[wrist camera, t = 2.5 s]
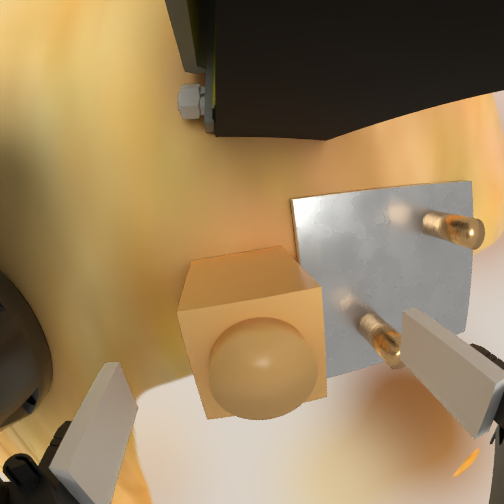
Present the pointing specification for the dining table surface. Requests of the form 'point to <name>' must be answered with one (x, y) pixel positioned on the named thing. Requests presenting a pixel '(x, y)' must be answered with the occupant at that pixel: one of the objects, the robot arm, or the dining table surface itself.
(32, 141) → the dining table surface
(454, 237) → the brass rounded peg
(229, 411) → the cube with dome knob
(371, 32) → the electrical component
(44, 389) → the robot arm
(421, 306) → the plate
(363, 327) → the amber glass cylinder
